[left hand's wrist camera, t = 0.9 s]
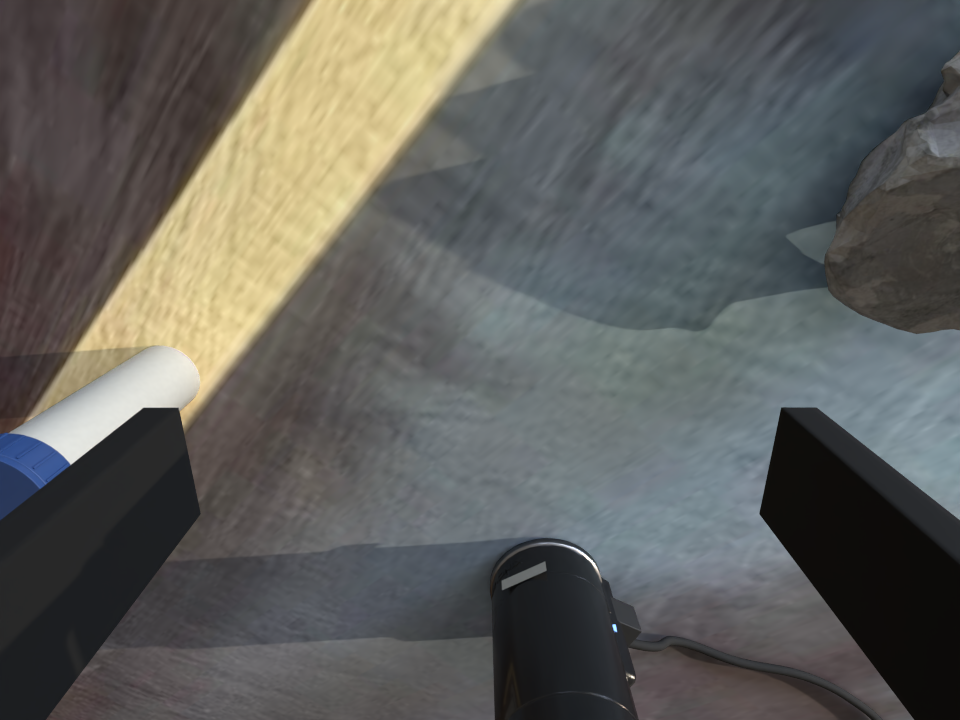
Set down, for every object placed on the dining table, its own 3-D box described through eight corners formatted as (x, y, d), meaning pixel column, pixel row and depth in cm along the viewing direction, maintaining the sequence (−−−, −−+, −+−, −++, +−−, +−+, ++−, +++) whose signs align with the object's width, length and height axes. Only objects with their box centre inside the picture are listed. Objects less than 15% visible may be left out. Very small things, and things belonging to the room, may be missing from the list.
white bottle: (119, 373, 42) (-77, 497, 27) (161, 331, 41) (-19, 438, 26) (171, 418, 44) (12, 560, 29) (214, 379, 42) (71, 507, 28)
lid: (-58, 477, 29) (-99, 502, 27) (8, 409, 28) (-30, 430, 26) (40, 548, 31) (8, 577, 29) (107, 487, 29) (78, 513, 27)
